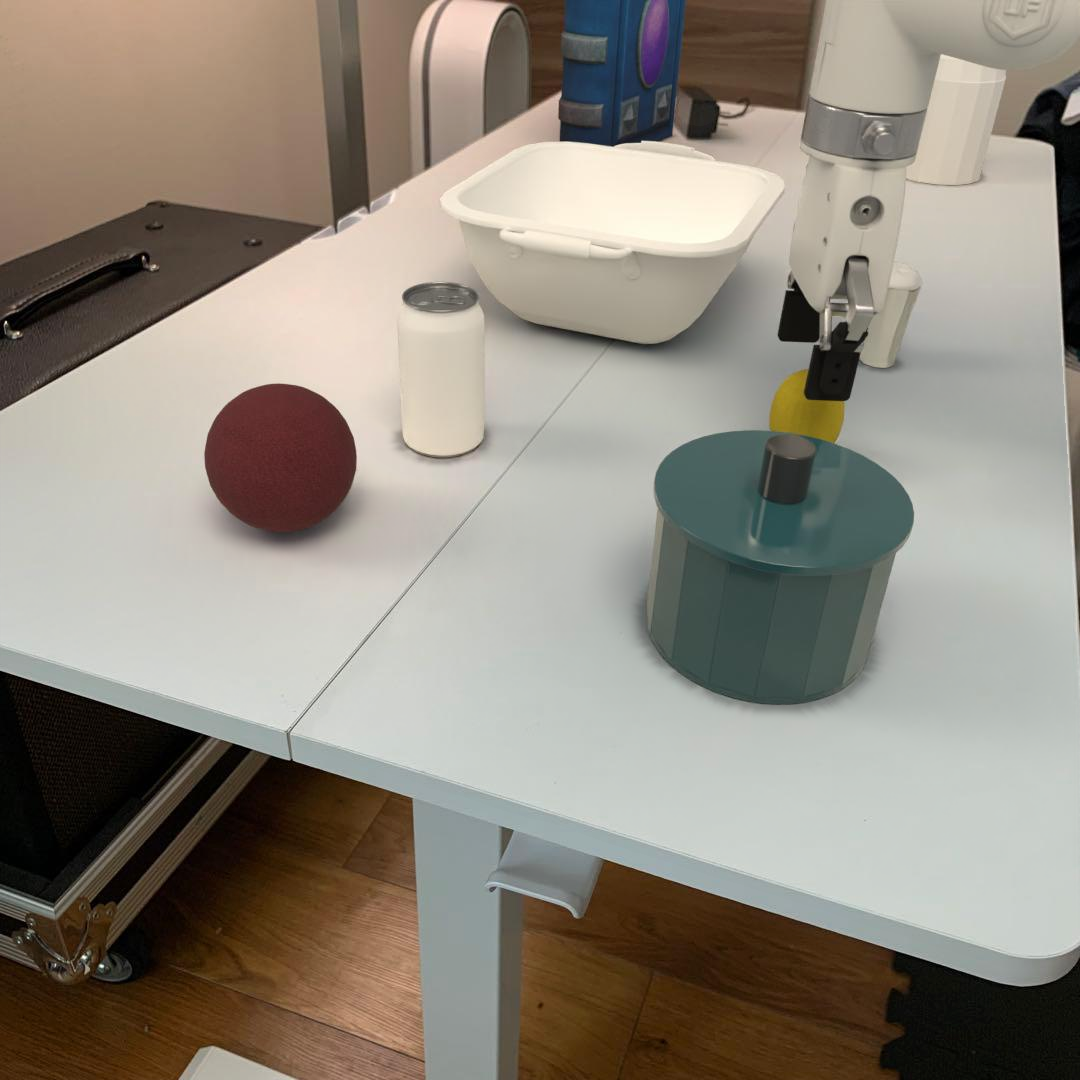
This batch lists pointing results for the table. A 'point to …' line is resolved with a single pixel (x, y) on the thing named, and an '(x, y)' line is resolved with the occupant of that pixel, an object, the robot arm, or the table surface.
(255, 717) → the table surface
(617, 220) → the white plastic basin
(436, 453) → the can
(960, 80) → the container
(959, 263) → the table surface
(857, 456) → the pot lid
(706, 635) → the enamel pot
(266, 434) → the decorative ball
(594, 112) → the book
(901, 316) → the milkshake
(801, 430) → the lemon
